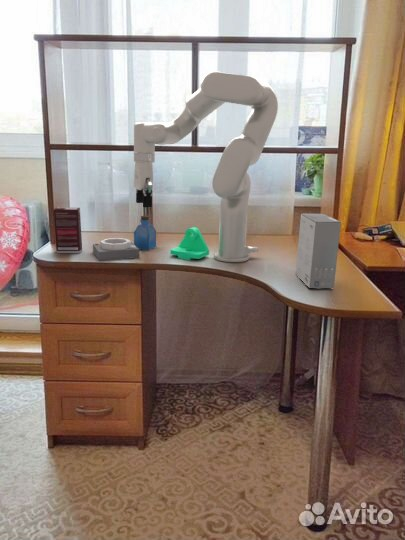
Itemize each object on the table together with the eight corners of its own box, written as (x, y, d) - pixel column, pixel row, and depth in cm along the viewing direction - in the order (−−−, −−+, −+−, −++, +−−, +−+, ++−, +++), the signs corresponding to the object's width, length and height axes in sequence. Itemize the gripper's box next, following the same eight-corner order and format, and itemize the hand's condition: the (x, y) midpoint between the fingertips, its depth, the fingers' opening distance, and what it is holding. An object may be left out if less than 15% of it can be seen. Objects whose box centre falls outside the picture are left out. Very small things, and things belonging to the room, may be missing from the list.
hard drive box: (334, 290, 139) (342, 222, 133) (308, 290, 138) (315, 221, 133) (318, 274, 154) (324, 212, 148) (294, 274, 153) (299, 212, 148)
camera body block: (131, 249, 179) (130, 236, 178) (139, 257, 169) (139, 243, 167) (93, 252, 174) (92, 238, 173) (99, 260, 163) (98, 246, 162)
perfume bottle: (141, 245, 187) (141, 214, 184) (156, 246, 185) (155, 215, 182) (134, 248, 181) (133, 217, 178) (149, 250, 179) (148, 218, 176)
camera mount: (169, 257, 171) (169, 228, 168) (180, 252, 178) (180, 225, 175) (198, 262, 166) (199, 232, 163) (209, 257, 172) (209, 229, 169)
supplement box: (82, 250, 176) (80, 207, 172) (80, 253, 172) (78, 209, 167) (58, 250, 176) (56, 206, 171) (55, 253, 171) (52, 209, 167)
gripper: (128, 155, 180) (128, 201, 185) (140, 159, 165) (139, 209, 170) (147, 156, 183) (147, 201, 188) (161, 159, 168) (160, 208, 173)
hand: (143, 204), depth 179 cm, fingers open, 9 cm apart
